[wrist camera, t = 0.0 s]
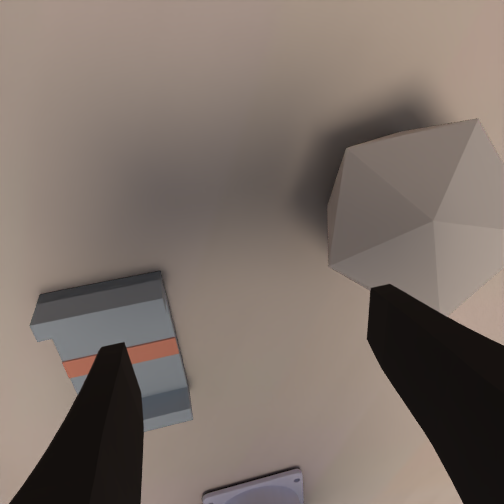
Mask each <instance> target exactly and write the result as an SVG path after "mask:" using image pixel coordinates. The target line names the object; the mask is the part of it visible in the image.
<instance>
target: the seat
mask: <svg viewBox="0 0 504 504" xmlns="http://www.w3.org/2000/svg"><path fill="white" fill-rule="evenodd" d="M30 328H31V330H32V332H33V334H34V336H35V338H36V340H37V342H40V341H45V340H49V339H53V342H54V344H55V346H56V348H57V350H58V353H59V355H60V357H61V359H62V361H63V362H62V363H63V366H64V368H65V370H66V372H67V374H68V377H69V378H70V379H71V381H72V383H73V386H74V388H75V390H76V392H77V394H79V392H80V390H81V388H82V386H83V384H84V381H85V379H86V377H87V375H88V373H89V371H90V369H91V367H92V364H93V362H94V360H95V358H96V355H97V353H98V351H99V350H100V348H101V347H103V346H108V345H112V344H117V343H121V342H125V345H126V348H127V351H128V354H129V357H130V360H131V363H132V366H133V369H134V372H135V375H136V378H137V381H138V384H139V387H140V390H141V395H142V408H143V422H144V432H146V431H150V430H154V429H158V428H162V427H166V426H170V425H174V424H178V423H182V422H186V421H190V420H193V415H192V407H191V399H190V392H189V386H188V382H187V378H186V374H185V370H184V366H183V361H182V357H181V353H180V349H179V345H178V341H177V337H176V333H175V329H174V325H173V321H172V317H171V312H170V308H169V304H168V300H167V296H166V292H165V288H164V284H163V280H162V276H161V272H160V271H157V272H152V273H147V274H142V275H137V276H132V277H127V278H122V279H117V280H112V281H106V282H101V283H96V284H91V285H86V286H81V287H76V288H71V289H66V290H61V291H56V292H51V293H46V294H41V295H39V298H38V301H37V305H36V308H35V311H34V314H33V317H32V320H31V323H30Z"/></svg>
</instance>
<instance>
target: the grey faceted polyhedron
mask: <svg viewBox="0 0 504 504" xmlns="http://www.w3.org/2000/svg"><path fill="white" fill-rule="evenodd" d="M327 228H328V267H330V268H332V269H333V270H335V271H337V272H339V273H340V274H342V275H344V276H346V277H347V278H349V279H351V280H353V281H354V282H356V283H358V284H359V285H361V286H363V287H365V288H366V289H368V290H370V291H371V288H373V287H377V286H382V285H386V284H391V285H393V286H395V287H397V288H399V289H400V290H402V291H404V292H406V293H407V294H409V295H411V296H412V297H414V298H416V299H417V300H419V301H421V302H423V303H424V304H426V305H428V306H429V307H431V308H433V309H434V310H436V311H438V312H440V313H441V314H443V315H445V316H447V317H448V316H449V315H450V314H451V313H452V312H453V311H454V310H456V309H457V308H458V307H459V306H460V305H461V304H463V303H464V302H465V301H466V300H467V299H468V298H470V297H471V296H472V295H473V294H474V293H475V292H476V291H478V290H479V289H480V288H481V287H482V286H483V285H485V284H486V283H487V282H488V281H489V280H490V279H492V278H493V277H494V276H495V275H496V274H497V273H498V272H500V271H501V270H502V269H503V268H504V163H503V162H502V160H501V158H500V156H499V154H498V153H497V151H496V149H495V147H494V145H493V144H492V142H491V140H490V138H489V136H488V135H487V133H486V131H485V129H484V127H483V126H482V124H481V122H480V120H479V118H478V119H472V120H466V121H460V122H454V123H448V124H443V125H437V126H431V127H425V128H419V129H413V130H408V131H402V132H397V133H394V134H391V135H387V136H384V137H381V138H377V139H374V140H371V141H367V142H364V143H361V144H357V145H354V146H351V147H348V148H346V150H345V153H344V156H343V159H342V162H341V165H340V168H339V171H338V174H337V178H336V181H335V184H334V187H333V190H332V193H331V196H330V199H329V202H328V205H327Z"/></svg>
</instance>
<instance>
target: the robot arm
mask: <svg viewBox="0 0 504 504" xmlns="http://www.w3.org/2000/svg"><path fill="white" fill-rule="evenodd" d="M367 340H368V342H369V344H370V346H371V348H372V351H373V353H374V355H375V357H376V359H377V361H378V362H379V364H380V366H381V368H382V370H383V371H384V373H385V374H386V376H387V378H388V379H389V381H390V382H391V384H392V385H393V387H394V388H395V390H396V391H397V393H398V394H399V395H400V397H401V398H402V400H403V401H404V403H405V404H406V406H407V407H408V409H409V410H410V412H411V413H412V415H413V416H414V418H415V419H416V421H417V422H418V424H419V425H420V426H421V428H422V429H423V431H424V432H425V434H426V436H427V437H428V439H429V441H430V442H431V444H432V445H433V447H434V449H435V451H436V453H437V454H438V456H439V458H440V460H441V462H442V464H443V465H444V467H445V469H446V471H447V473H448V475H449V477H450V478H451V480H452V482H453V484H454V486H455V488H456V490H457V492H458V494H459V496H460V498H461V500H462V502H463V504H504V346H503V345H501V344H499V343H497V342H495V341H493V340H491V339H489V338H487V337H485V336H483V335H481V334H479V333H477V332H475V331H473V330H471V329H469V328H467V327H465V326H463V325H461V324H459V323H458V322H456V321H454V320H452V319H450V318H449V317H447V316H445V315H443V314H441V313H440V312H438V311H436V310H434V309H433V308H431V307H429V306H428V305H426V304H424V303H423V302H421V301H419V300H417V299H416V298H414V297H412V296H411V295H409V294H407V293H406V292H404V291H402V290H400V289H399V288H397V287H395V286H393V285H391V284H386V285H382V286H377V287H373V288H371V291H370V305H369V318H368V332H367ZM143 437H144V422H143V408H142V395H141V390H140V387H139V384H138V381H137V378H136V375H135V372H134V369H133V366H132V363H131V360H130V357H129V354H128V351H127V348H126V345H125V342H121V343H117V344H112V345H108V346H103V347H101V348H100V350H99V351H98V353H97V355H96V358H95V360H94V362H93V364H92V367H91V369H90V371H89V373H88V375H87V377H86V379H85V381H84V384H83V386H82V388H81V390H80V392H79V394H78V395H77V397H76V399H75V401H74V403H73V405H72V407H71V409H70V411H69V413H68V414H67V416H66V418H65V420H64V421H63V423H62V425H61V427H60V428H59V430H58V432H57V433H56V435H55V437H54V438H53V440H52V442H51V443H50V445H49V447H48V448H47V450H46V452H45V453H44V455H43V456H42V458H41V459H40V461H39V462H38V464H37V465H36V467H35V468H34V470H33V471H32V473H31V474H30V476H29V477H28V478H27V480H26V481H25V483H24V484H23V486H22V487H21V488H20V490H19V491H18V492H17V494H16V495H15V496H14V498H13V499H12V500H11V502H10V503H9V504H141V482H142V461H143ZM202 501H203V504H304V496H303V474H302V472H301V470H300V469H293V470H290V471H286V472H282V473H279V474H275V475H272V476H268V477H264V478H261V479H257V480H254V481H250V482H246V483H243V484H239V485H236V486H232V487H228V488H225V489H221V490H217V491H214V492H210V493H207V494H205V495H204V496H203V497H202Z"/></svg>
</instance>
